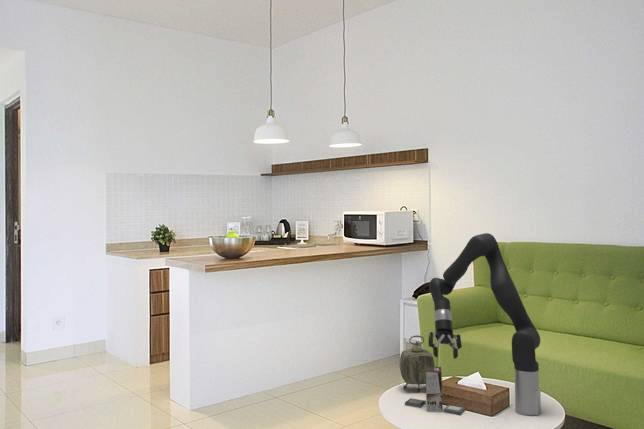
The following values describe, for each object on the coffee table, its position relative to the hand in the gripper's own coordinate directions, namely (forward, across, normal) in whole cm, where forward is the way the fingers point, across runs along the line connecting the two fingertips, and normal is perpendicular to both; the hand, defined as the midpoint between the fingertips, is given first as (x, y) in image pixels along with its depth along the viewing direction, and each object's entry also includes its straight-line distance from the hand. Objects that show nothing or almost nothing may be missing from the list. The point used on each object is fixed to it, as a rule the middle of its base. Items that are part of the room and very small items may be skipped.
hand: (445, 357), depth 239 cm
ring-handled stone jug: (+10, -6, +23) cm, 25 cm away
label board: (+21, -6, +2) cm, 22 cm away
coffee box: (+21, -6, +2) cm, 22 cm away
